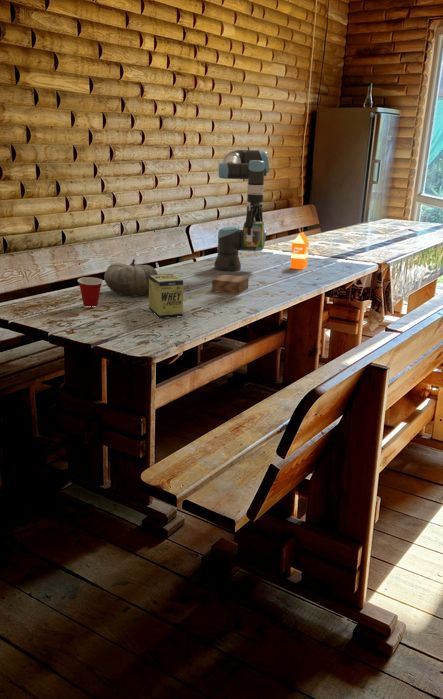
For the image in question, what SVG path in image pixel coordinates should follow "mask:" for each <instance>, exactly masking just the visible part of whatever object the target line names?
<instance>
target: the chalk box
mask: <svg viewBox="0 0 443 699" xmlns="http://www.w3.org/2000/svg"><path fill="white" fill-rule="evenodd" d="M264 225H265V222H264V221H263V222H257V221H255V220H254V221H253V225H252V228H253V234H252V242H246V239H247V228H245V222H243V226H244V244H243V247H262V246H263V235H264V230H265V226H264Z"/></svg>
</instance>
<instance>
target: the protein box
mask: <svg viewBox="0 0 443 699" xmlns="http://www.w3.org/2000/svg"><path fill="white" fill-rule="evenodd" d="M149 309H150V310H151V311H152V312H151V311H150V310H149ZM148 310H149V311H150V312H151V313H153V314H154V313H155V314H156V315H157V316H158V317H159V318H158V317H157V316H156V315H155V314H154V315H155V316H156V317H157V318H158V319H160V318H161V319H166V318H165V317H173V318H178V317H177V316H183V317H184V280H182V279H181V278H179V277H178V276H176V275H174V274H173V273H161V274H159V273H157V275H149V294H148Z"/></svg>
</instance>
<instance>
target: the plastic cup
mask: <svg viewBox="0 0 443 699" xmlns="http://www.w3.org/2000/svg"><path fill="white" fill-rule="evenodd" d="M77 282H78V285H79V289H80V295H81V299H82V303H83V307H84V306H91V307H92V306H97V305H99V300H100V293H101V288H102V284H103V282H104V280H103V279H102V278H98V277H90V276H87V277H85V276H84V277H80V278H78V279H77ZM97 307H98V306H97Z"/></svg>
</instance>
